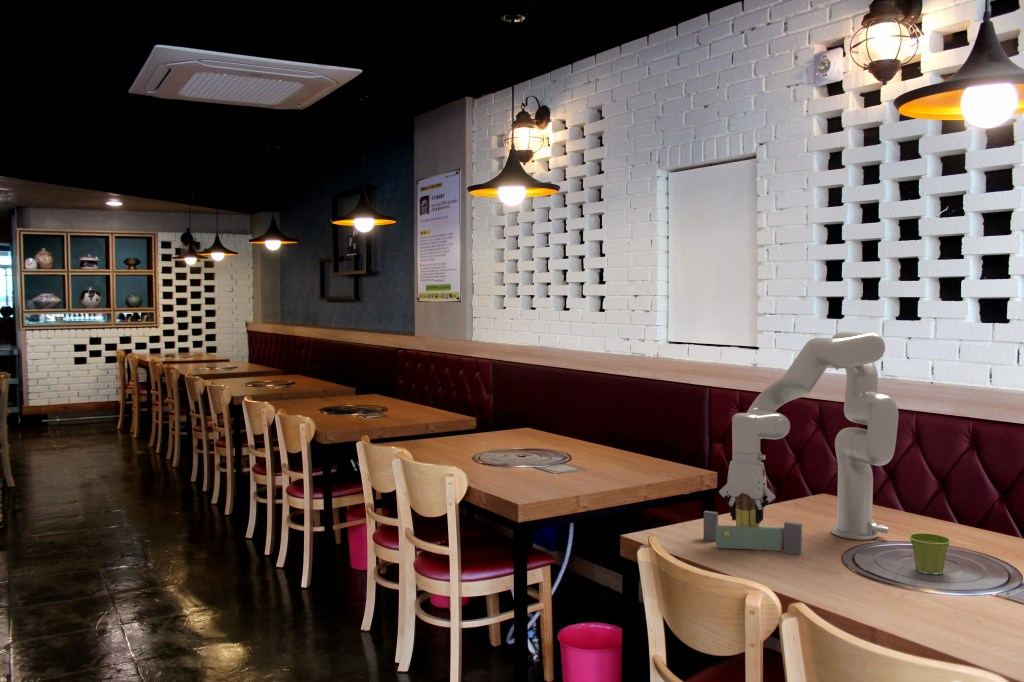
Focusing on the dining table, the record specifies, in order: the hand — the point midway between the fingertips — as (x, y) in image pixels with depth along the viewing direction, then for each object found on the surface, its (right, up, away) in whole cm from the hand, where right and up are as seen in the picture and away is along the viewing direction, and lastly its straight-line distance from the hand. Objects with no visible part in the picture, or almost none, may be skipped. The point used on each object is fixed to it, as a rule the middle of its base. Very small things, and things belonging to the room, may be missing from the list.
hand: (746, 520), depth 226 cm
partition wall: (+1, -7, 0) cm, 7 cm away
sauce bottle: (0, -7, 0) cm, 7 cm away
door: (0, -7, -4) cm, 8 cm away
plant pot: (+40, -8, -22) cm, 46 cm away
